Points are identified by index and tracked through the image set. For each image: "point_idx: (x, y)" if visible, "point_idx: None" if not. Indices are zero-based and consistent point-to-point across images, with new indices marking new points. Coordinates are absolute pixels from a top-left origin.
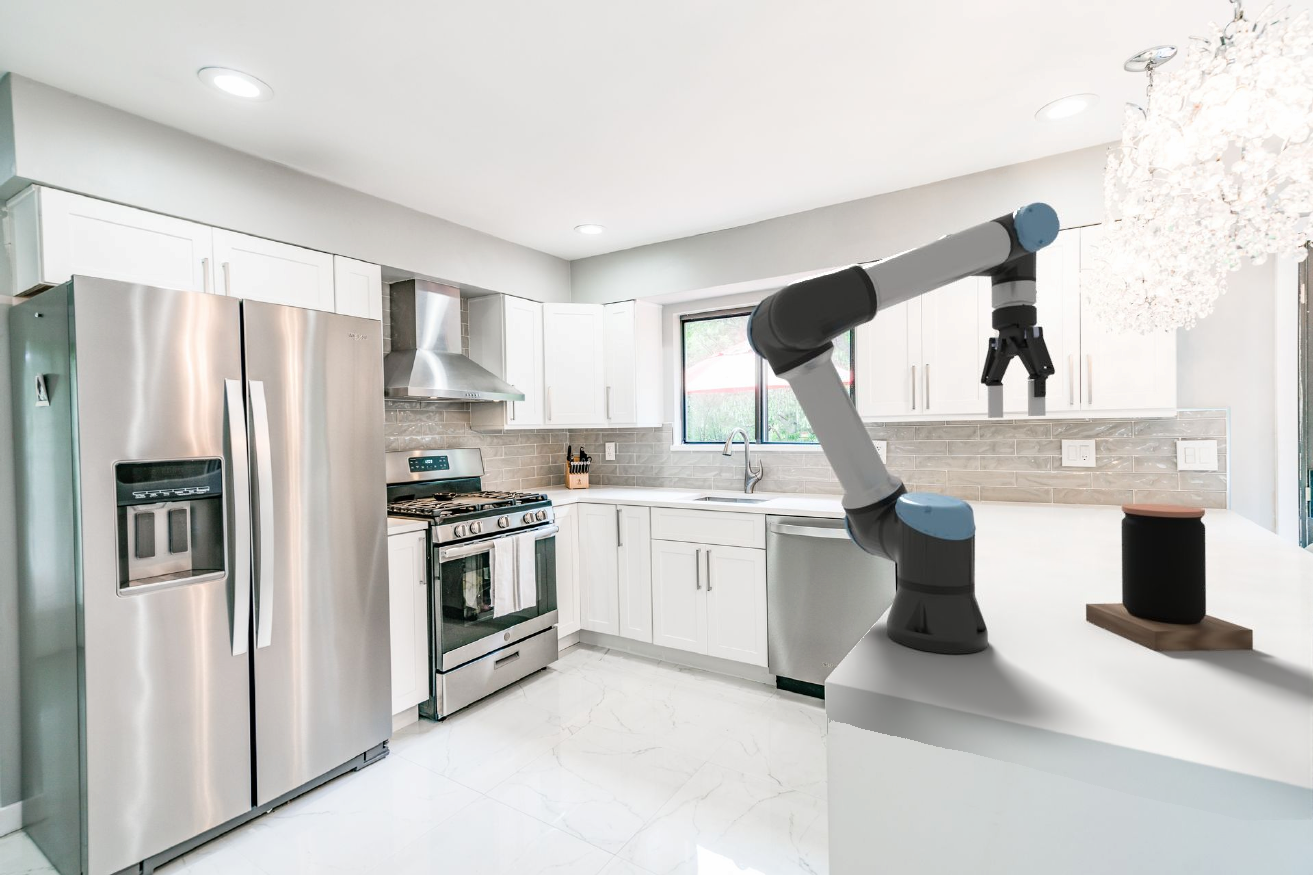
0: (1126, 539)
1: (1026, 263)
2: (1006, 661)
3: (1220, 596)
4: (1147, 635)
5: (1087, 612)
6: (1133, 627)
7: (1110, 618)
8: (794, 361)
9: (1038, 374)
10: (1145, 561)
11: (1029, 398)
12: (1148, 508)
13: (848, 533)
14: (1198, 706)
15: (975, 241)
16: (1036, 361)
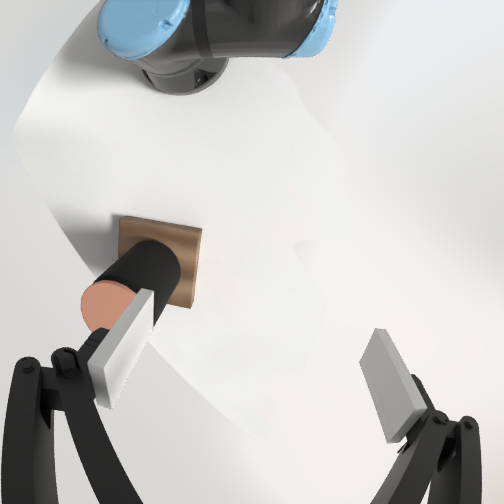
0: (133, 268)
1: None
2: (127, 84)
3: (245, 388)
4: (128, 219)
5: (198, 231)
6: (141, 222)
7: (167, 226)
8: None
9: (37, 361)
10: (121, 259)
11: (125, 320)
12: (106, 299)
13: None
14: (55, 157)
15: None
16: (17, 404)
